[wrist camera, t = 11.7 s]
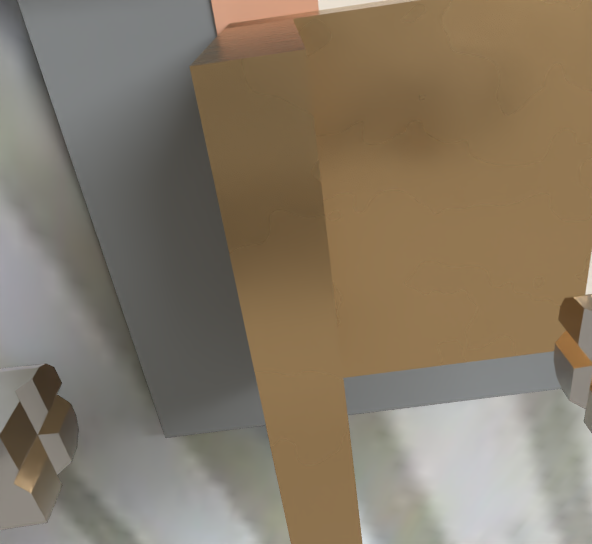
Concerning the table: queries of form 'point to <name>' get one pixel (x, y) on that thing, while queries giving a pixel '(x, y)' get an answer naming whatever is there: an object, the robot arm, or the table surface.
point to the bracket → (394, 205)
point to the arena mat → (192, 211)
